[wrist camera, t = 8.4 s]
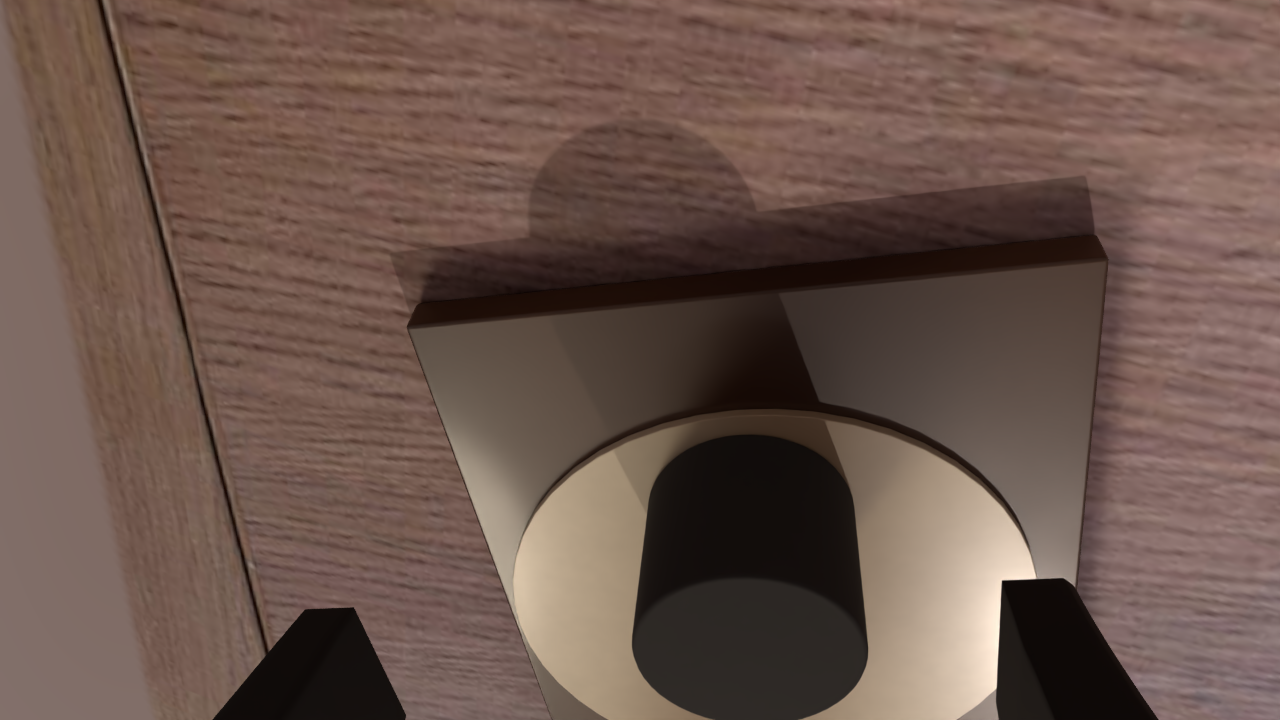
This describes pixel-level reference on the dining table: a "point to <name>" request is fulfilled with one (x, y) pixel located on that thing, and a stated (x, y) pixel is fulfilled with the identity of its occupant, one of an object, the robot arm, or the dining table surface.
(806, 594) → the dot
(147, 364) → the dining table surface
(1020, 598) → the robot arm
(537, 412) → the board
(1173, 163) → the dining table surface
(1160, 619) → the dining table surface
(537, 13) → the dining table surface
